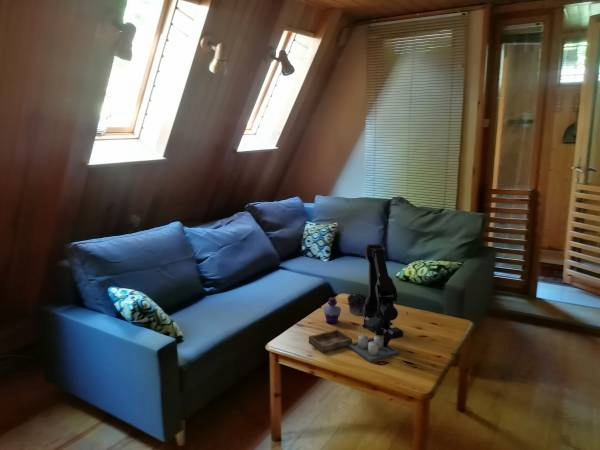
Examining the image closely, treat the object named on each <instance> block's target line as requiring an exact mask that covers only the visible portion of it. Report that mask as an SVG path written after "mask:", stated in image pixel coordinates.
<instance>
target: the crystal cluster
mask: <svg viewBox="0 0 600 450" xmlns="http://www.w3.org/2000/svg"><path fill="white" fill-rule="evenodd" d="M367 296H368V295H367ZM367 296H366V295H365V294H363V293H355V294H352V293H351V294H349V295H348V297H347V302H348V310H349V312H350V313H351V314H352V315H355V316H363V317H364V315H363V313H362V308H363V306H364V304H365V299H366V298H367Z"/></svg>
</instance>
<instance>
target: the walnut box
mask: <svg viewBox="0 0 600 450" xmlns="http://www.w3.org/2000/svg"><path fill="white" fill-rule="evenodd" d="M351 343H353V338H351V337H350V336H349V335H347V334H345V333H344V332H343V331H342V330H340V329H334V330H329V331H324V332H320V333H317V334H313V335H309V336H308V344H310V345H311V346H312V347H313V348H315V349H316V350H318V351H319V352H320V353H321V354H325V353H329V352H333V351H336V350H340V349H344V348H348V344H351Z"/></svg>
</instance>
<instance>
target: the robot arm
mask: <svg viewBox="0 0 600 450" xmlns="http://www.w3.org/2000/svg"><path fill="white" fill-rule="evenodd" d="M385 251H386V247H385V246H382V245H381V244H379V243H378V244H377V243H376V244H366V246H364V248H363V253H364V255H365V259H366V262H367V263H368V295H367V298H366V299H365V304H364V306H363V308H362V313H363V315H364V316H363V315H362V316H363V324H362V325H361V326H362V327H363V328H364V329H366V330H367V331H369V332H370V333H375V336H376V335H380V336H383V337H384V341H383V342H384V347H387V345H389V343H390V341H391V340H396V339H398V338H402V337H404V330H402V329H401V328H399V327H397V326H395V327H392V326H393V322H391V321H395V320H396V319H397V318H398V315H399V311H398V309H397V308H396V306H395V304H394V302H397V301H398V290H397V287H396V285H395V284H394V281H393V278H392V277H391V276H390V275H389V272H388V267H387V262H386V257H385V255H386V254H385Z"/></svg>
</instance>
